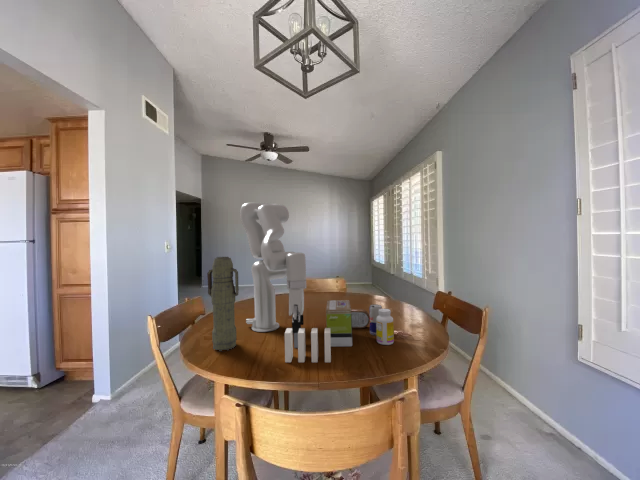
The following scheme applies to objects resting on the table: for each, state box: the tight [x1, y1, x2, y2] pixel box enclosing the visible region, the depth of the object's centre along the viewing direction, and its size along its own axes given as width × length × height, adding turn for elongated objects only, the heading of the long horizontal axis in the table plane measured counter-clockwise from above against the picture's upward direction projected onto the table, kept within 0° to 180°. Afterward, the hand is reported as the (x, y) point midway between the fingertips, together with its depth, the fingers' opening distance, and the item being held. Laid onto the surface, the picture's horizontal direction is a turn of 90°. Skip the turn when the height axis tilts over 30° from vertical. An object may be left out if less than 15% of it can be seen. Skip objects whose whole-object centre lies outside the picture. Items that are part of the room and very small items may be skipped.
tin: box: [351, 308, 370, 329], centre depth 130 cm, size 15×3×8 cm, turn 84°
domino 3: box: [297, 327, 306, 363], centre depth 98 cm, size 2×5×10 cm, turn 178°
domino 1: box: [284, 327, 294, 363], centre depth 98 cm, size 2×5×10 cm, turn 178°
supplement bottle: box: [376, 308, 395, 346], centre depth 112 cm, size 7×7×13 cm
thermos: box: [206, 256, 240, 352], centre depth 110 cm, size 9×12×35 cm
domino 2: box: [293, 333, 298, 349], centre depth 110 cm, size 2×5×10 cm, turn 178°
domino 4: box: [310, 327, 319, 363], centre depth 98 cm, size 2×5×10 cm, turn 178°
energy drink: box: [368, 303, 383, 336], centre depth 122 cm, size 5×5×12 cm
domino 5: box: [323, 327, 332, 363], centre depth 98 cm, size 2×5×10 cm, turn 178°
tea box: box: [325, 299, 353, 348], centre depth 116 cm, size 15×10×15 cm, turn 177°
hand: (298, 328), depth 110 cm, fingers open, 9 cm apart
